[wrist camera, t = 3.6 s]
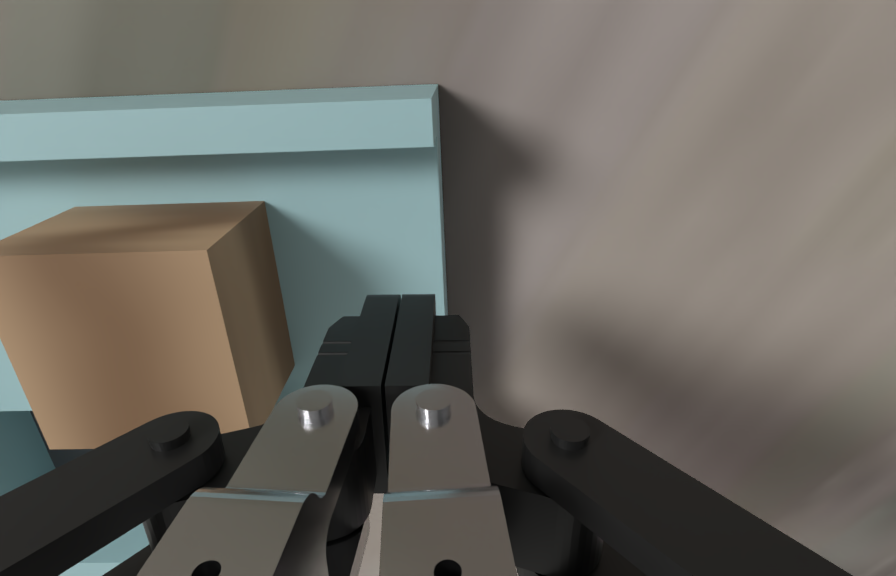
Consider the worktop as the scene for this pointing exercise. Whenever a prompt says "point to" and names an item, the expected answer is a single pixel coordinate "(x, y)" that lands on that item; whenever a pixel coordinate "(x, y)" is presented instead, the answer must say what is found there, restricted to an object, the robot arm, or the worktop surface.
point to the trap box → (237, 180)
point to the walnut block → (144, 318)
